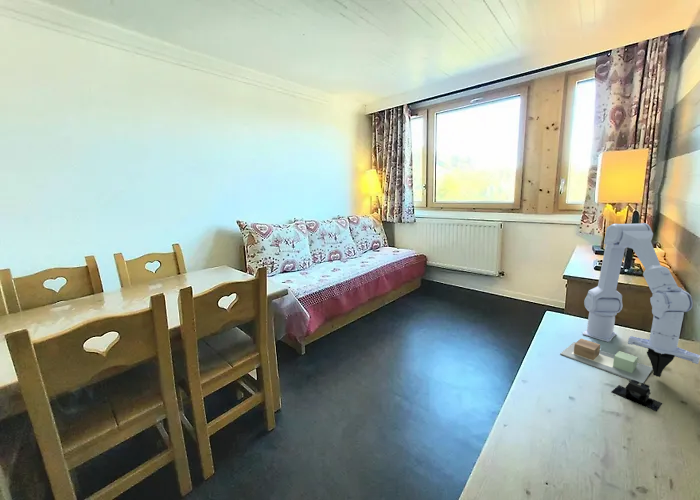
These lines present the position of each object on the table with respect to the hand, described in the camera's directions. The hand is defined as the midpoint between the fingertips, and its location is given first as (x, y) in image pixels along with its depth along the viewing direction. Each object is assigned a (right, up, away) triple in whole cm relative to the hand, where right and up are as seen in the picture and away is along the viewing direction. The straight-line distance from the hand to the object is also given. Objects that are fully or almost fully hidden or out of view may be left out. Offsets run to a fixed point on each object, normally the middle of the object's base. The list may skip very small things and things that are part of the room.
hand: (657, 374), depth 92 cm
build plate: (-7, 0, +10) cm, 12 cm away
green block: (-4, 0, +6) cm, 7 cm away
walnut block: (-10, +2, +14) cm, 17 cm away
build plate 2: (-12, -4, -7) cm, 15 cm away
